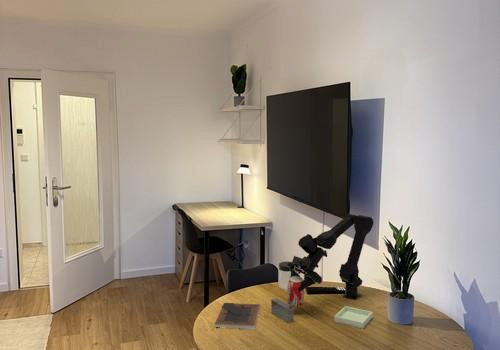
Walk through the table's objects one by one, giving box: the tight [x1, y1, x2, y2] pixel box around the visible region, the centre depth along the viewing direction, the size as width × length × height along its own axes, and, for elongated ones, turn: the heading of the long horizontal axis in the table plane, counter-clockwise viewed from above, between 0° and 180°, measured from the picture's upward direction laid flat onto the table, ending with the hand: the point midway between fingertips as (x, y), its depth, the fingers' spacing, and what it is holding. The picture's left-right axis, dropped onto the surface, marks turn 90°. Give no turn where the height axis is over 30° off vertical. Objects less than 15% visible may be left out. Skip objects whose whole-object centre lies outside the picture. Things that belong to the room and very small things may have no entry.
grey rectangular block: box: [270, 297, 295, 323], centre depth 197 cm, size 3×12×6 cm, turn 32°
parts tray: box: [333, 305, 374, 330], centre depth 193 cm, size 12×12×2 cm
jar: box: [277, 261, 291, 291], centre depth 231 cm, size 9×8×12 cm
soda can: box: [287, 276, 305, 308], centre depth 200 cm, size 7×7×12 cm
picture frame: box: [213, 302, 261, 331], centre depth 198 cm, size 16×2×22 cm
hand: (293, 288), depth 199 cm, fingers closed on soda can, 7 cm apart
